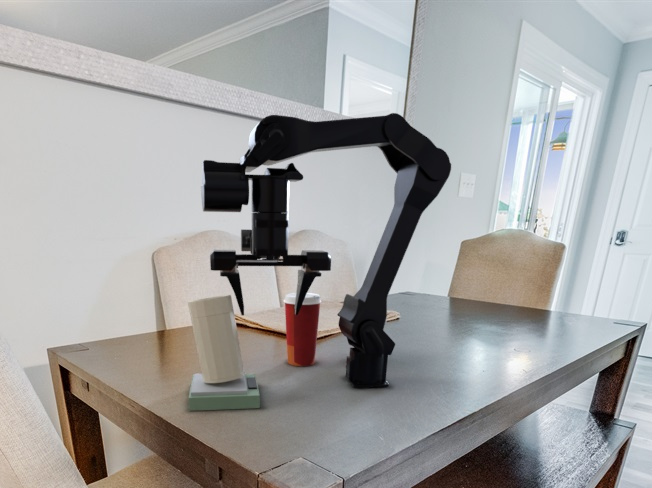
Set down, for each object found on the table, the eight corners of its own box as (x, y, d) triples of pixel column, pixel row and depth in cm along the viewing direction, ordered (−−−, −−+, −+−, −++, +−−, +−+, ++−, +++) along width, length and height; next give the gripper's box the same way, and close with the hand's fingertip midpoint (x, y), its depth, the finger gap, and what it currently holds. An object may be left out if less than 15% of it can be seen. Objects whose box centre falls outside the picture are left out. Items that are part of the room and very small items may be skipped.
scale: (255, 385, 83) (254, 370, 82) (259, 408, 73) (259, 391, 72) (193, 387, 82) (192, 372, 81) (189, 410, 72) (188, 394, 70)
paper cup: (325, 361, 98) (328, 294, 93) (308, 370, 92) (310, 298, 87) (294, 355, 102) (295, 290, 97) (275, 363, 96) (275, 295, 90)
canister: (236, 370, 80) (222, 295, 77) (250, 375, 74) (236, 294, 71) (198, 379, 78) (183, 301, 74) (210, 385, 72) (194, 301, 68)
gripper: (319, 214, 79) (315, 306, 85) (209, 213, 77) (213, 306, 82) (334, 213, 69) (329, 317, 74) (208, 211, 67) (212, 319, 72)
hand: (269, 314), depth 76 cm, fingers open, 9 cm apart
